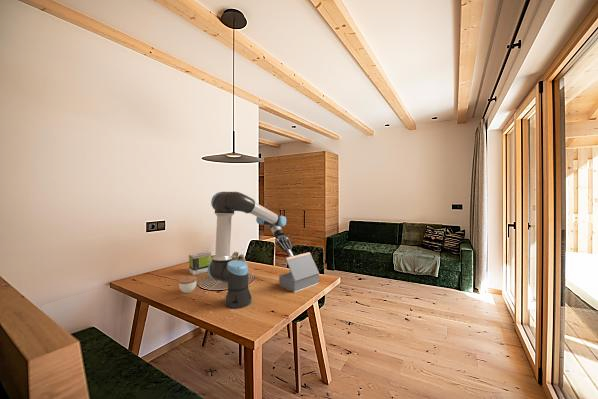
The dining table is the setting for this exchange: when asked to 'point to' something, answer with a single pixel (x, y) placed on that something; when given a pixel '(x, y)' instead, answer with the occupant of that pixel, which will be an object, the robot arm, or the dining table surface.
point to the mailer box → (297, 282)
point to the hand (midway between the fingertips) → (292, 258)
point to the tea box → (199, 262)
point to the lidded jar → (187, 284)
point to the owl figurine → (235, 257)
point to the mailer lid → (302, 266)
